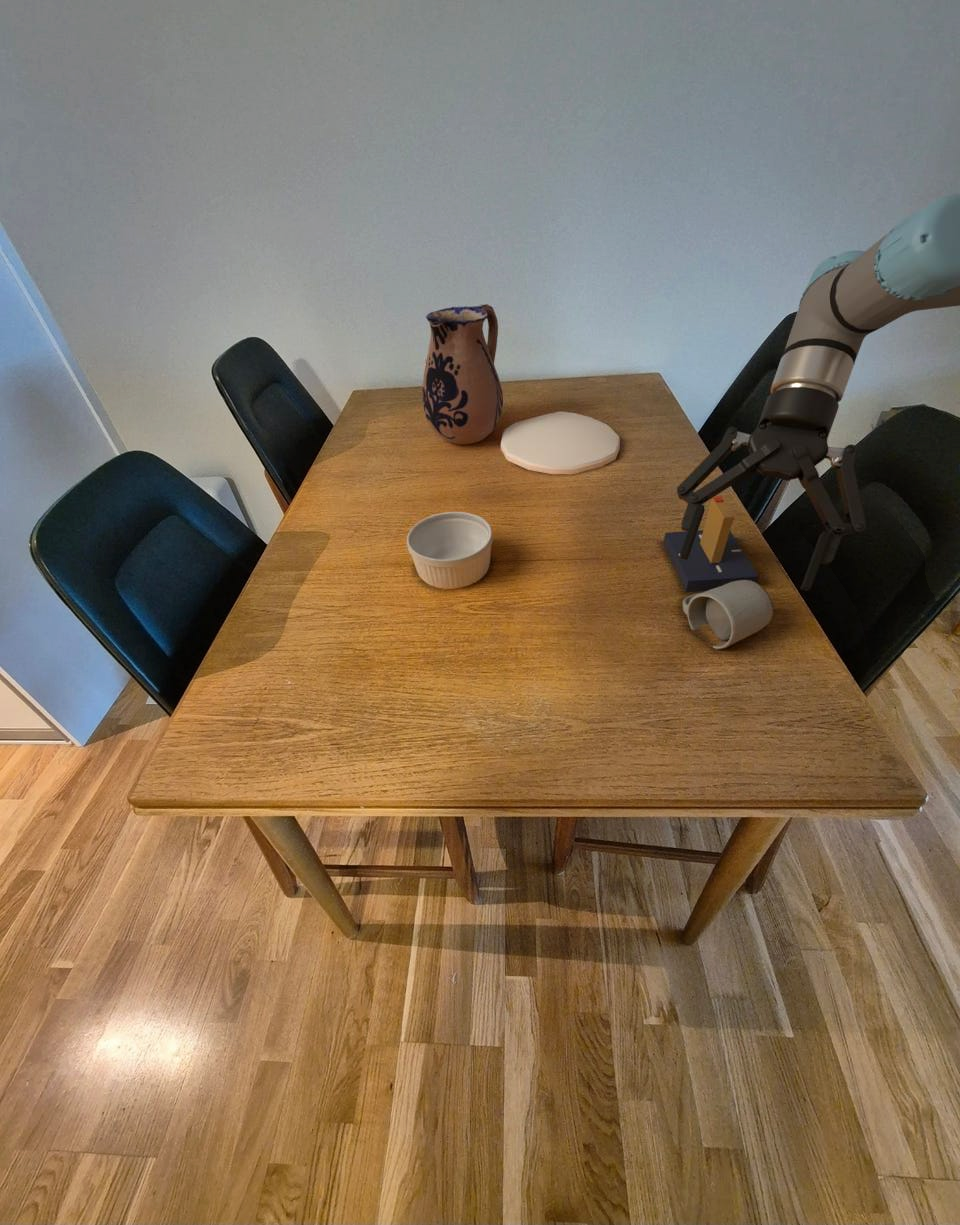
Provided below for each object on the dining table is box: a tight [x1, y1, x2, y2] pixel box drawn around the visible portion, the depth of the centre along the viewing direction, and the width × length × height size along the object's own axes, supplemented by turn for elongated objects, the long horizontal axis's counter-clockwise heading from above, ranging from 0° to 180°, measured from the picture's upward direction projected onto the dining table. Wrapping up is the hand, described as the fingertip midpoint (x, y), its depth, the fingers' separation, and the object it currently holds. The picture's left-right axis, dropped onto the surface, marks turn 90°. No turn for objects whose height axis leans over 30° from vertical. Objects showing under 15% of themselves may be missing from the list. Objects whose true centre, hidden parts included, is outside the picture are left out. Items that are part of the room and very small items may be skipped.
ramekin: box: [406, 511, 494, 590], centre depth 84 cm, size 13×13×7 cm
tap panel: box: [662, 529, 760, 593], centre depth 81 cm, size 12×10×3 cm
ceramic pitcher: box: [422, 303, 504, 445], centre depth 114 cm, size 18×21×25 cm
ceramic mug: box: [682, 580, 774, 650], centre depth 71 cm, size 11×8×8 cm
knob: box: [700, 496, 735, 563], centre depth 77 cm, size 5×1×8 cm, turn 1°
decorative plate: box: [500, 410, 621, 475], centre depth 112 cm, size 25×4×25 cm
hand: (741, 572), depth 63 cm, fingers open, 13 cm apart
